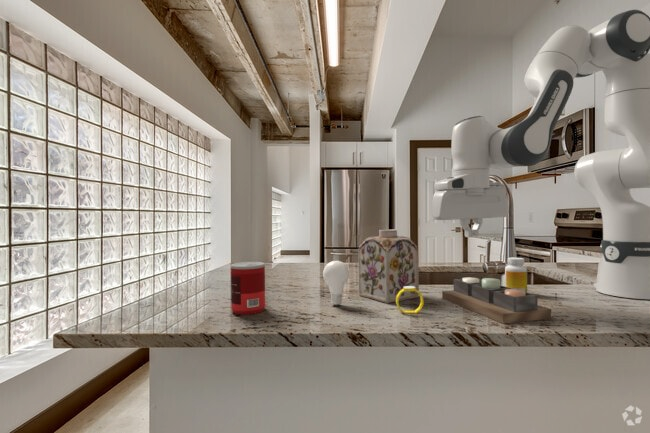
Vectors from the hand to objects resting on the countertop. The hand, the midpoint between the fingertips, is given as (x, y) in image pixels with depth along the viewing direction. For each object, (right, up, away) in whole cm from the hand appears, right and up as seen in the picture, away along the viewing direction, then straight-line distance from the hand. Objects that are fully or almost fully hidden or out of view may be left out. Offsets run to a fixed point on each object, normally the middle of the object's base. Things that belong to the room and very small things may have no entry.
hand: (471, 236), depth 95 cm
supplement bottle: (+15, -16, +7) cm, 23 cm away
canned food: (-55, -17, -7) cm, 58 cm away
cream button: (0, -14, 0) cm, 14 cm away
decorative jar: (-20, -17, +6) cm, 27 cm away
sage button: (+2, -13, -7) cm, 15 cm away
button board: (+2, -16, -7) cm, 18 cm away
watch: (-18, -17, -10) cm, 27 cm away
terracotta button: (+4, -14, -14) cm, 20 cm away
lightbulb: (-34, -17, -3) cm, 38 cm away
